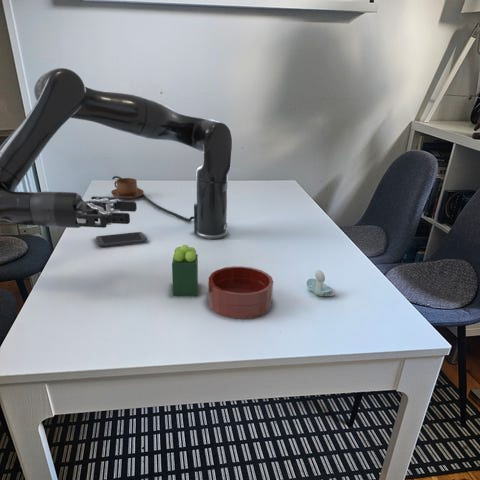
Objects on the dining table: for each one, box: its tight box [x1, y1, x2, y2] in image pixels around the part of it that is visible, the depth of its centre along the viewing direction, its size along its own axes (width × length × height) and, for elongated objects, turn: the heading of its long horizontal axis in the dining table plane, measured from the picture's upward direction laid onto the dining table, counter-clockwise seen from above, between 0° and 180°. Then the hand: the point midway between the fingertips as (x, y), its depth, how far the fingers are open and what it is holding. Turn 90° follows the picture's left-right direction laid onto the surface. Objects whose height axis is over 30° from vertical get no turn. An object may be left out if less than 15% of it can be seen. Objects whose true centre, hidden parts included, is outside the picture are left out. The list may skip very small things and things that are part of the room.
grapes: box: [171, 244, 199, 297], centre depth 108 cm, size 6×6×12 cm
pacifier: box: [306, 269, 336, 297], centre depth 111 cm, size 7×6×6 cm
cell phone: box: [95, 231, 148, 248], centre depth 136 cm, size 7×14×1 cm, turn 113°
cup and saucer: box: [110, 177, 144, 200], centre depth 174 cm, size 12×12×6 cm
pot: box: [207, 265, 274, 320], centre depth 105 cm, size 15×15×6 cm
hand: (133, 212), depth 100 cm, fingers open, 8 cm apart
